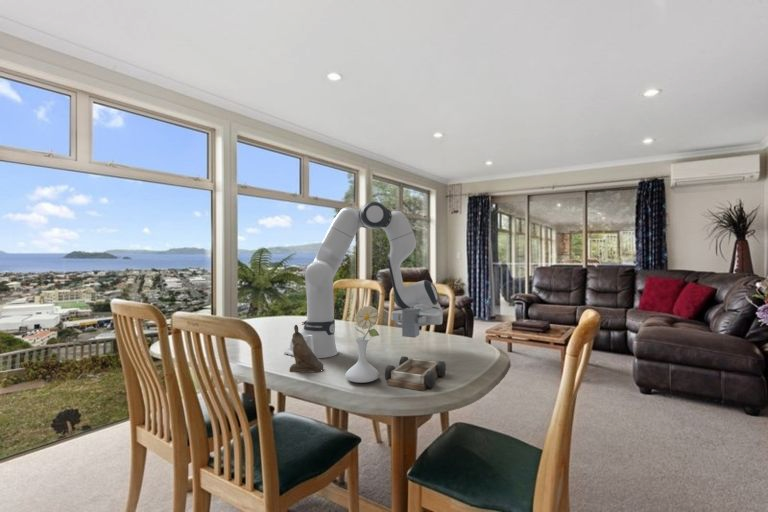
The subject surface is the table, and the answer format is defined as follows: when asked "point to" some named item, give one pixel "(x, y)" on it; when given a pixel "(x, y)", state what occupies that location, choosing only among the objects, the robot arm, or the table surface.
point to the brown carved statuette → (303, 355)
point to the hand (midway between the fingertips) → (410, 320)
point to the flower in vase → (364, 347)
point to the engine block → (410, 322)
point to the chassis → (414, 373)
